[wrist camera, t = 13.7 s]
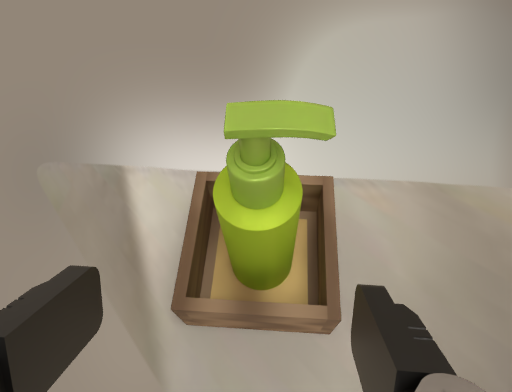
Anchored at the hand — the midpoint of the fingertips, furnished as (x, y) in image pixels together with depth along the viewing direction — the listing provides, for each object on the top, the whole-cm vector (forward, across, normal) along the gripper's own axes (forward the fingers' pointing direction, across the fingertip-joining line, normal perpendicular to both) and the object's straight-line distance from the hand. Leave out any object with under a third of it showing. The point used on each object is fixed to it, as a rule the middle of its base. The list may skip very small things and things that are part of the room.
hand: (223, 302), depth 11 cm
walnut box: (+23, 0, +9) cm, 24 cm away
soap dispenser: (+22, -1, +9) cm, 24 cm away
